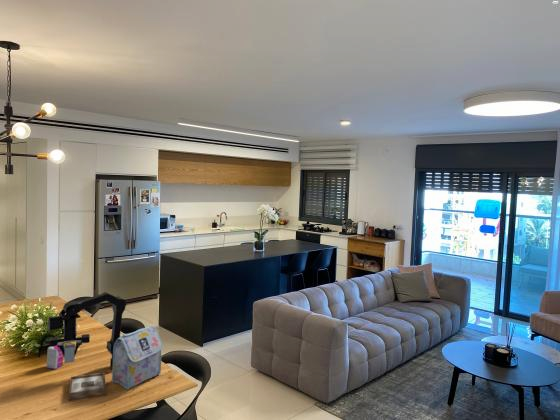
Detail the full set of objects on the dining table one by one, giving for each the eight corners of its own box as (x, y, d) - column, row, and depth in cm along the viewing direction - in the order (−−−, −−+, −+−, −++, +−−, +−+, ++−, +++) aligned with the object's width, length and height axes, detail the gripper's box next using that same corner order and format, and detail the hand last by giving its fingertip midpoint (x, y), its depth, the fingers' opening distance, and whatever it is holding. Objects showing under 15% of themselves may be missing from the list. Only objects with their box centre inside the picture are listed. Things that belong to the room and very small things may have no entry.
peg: (74, 358, 218) (74, 343, 218) (74, 361, 214) (74, 347, 214) (65, 359, 217) (65, 344, 216) (64, 363, 213) (64, 348, 212)
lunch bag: (129, 392, 205) (131, 341, 204) (108, 382, 214) (110, 333, 213) (164, 376, 224) (166, 328, 222) (144, 367, 233) (145, 322, 232)
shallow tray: (104, 378, 218) (104, 372, 218) (105, 395, 202) (105, 388, 202) (70, 383, 212) (70, 376, 211) (68, 400, 195) (68, 393, 195)
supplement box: (55, 369, 225) (56, 349, 225) (46, 368, 226) (46, 348, 226) (63, 365, 231) (63, 345, 230) (54, 364, 232) (54, 344, 231)
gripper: (90, 320, 225) (89, 348, 226) (51, 323, 218) (51, 352, 219) (89, 327, 215) (89, 356, 216) (49, 330, 208) (48, 360, 209)
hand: (69, 356), depth 215 cm, fingers closed on peg, 4 cm apart
